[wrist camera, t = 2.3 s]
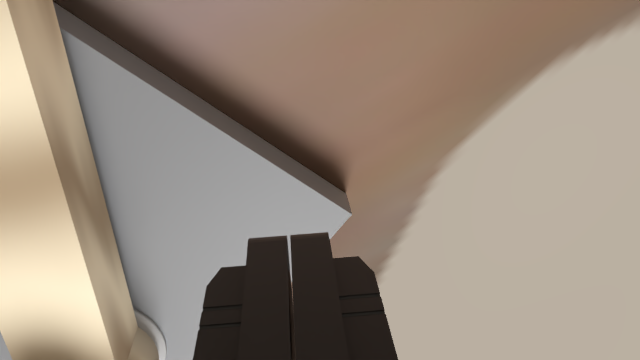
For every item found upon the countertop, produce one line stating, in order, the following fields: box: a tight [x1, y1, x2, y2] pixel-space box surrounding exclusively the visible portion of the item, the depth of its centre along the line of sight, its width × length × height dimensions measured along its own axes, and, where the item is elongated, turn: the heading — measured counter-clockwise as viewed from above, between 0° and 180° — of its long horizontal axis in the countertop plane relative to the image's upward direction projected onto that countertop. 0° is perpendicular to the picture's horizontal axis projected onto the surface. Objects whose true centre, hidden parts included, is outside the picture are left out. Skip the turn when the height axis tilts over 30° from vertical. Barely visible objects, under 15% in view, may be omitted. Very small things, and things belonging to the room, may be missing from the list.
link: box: [0, 0, 159, 360], centre depth 15 cm, size 18×4×2 cm, turn 2°
